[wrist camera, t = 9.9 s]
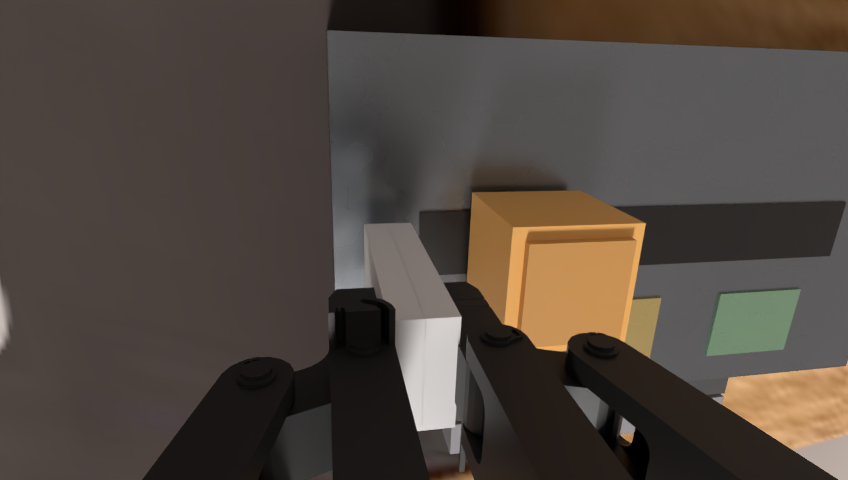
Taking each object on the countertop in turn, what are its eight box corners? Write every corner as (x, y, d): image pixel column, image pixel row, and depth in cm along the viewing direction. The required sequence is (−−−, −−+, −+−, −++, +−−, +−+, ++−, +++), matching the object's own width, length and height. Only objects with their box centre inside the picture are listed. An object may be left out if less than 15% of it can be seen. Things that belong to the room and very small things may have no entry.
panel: (336, 372, 23) (338, 417, 20) (326, 34, 18) (327, 30, 15) (792, 334, 27) (847, 367, 25) (874, 56, 23) (954, 55, 20)
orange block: (466, 298, 19) (504, 361, 15) (472, 192, 18) (517, 230, 14) (566, 292, 20) (629, 351, 16) (579, 190, 18) (652, 226, 14)
